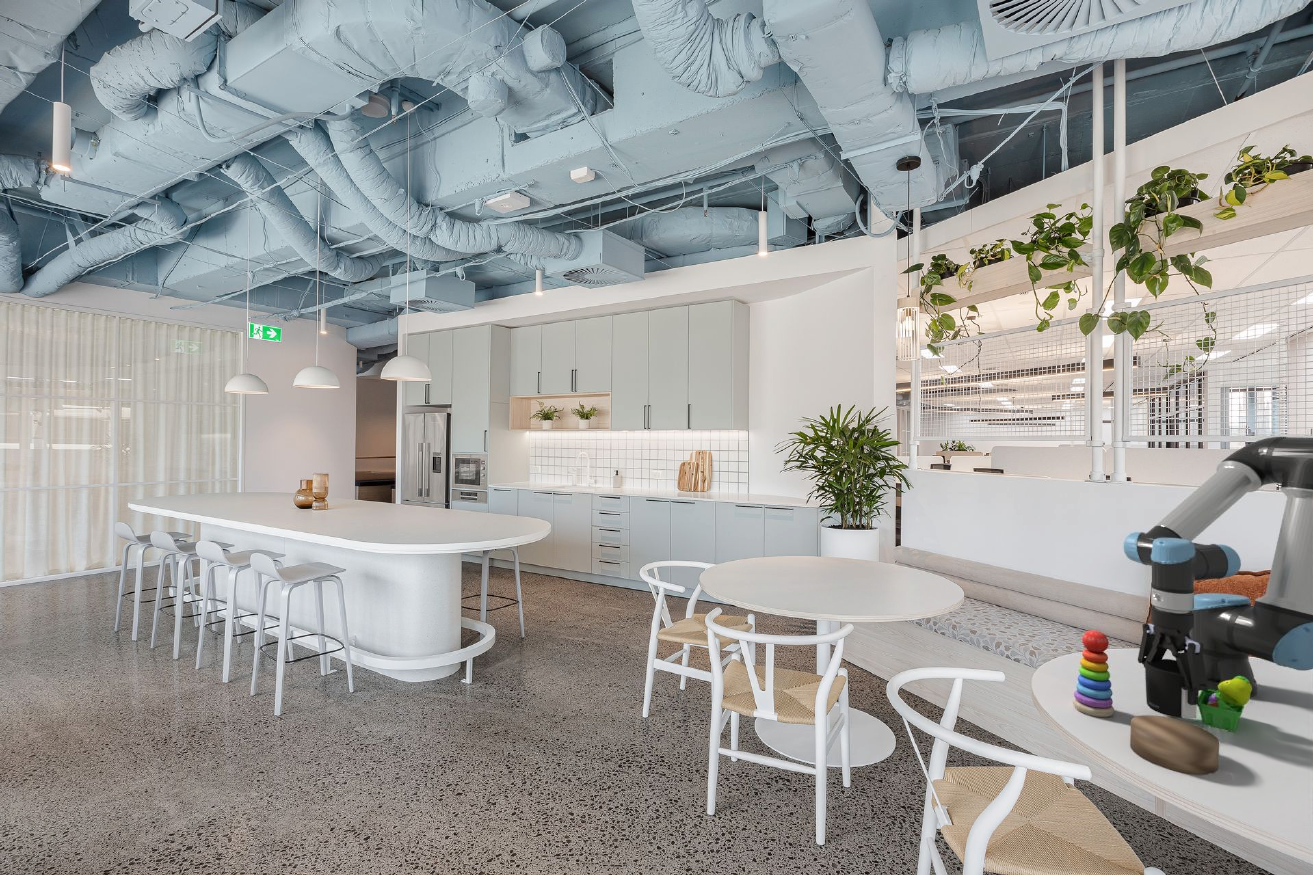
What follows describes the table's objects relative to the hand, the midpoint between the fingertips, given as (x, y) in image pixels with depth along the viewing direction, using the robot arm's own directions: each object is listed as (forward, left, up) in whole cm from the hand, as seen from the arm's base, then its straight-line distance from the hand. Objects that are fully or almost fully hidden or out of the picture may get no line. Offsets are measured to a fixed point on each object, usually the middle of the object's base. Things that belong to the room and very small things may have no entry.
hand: (1170, 707), depth 147 cm
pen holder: (0, 0, -1) cm, 1 cm away
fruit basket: (-12, +1, -4) cm, 12 cm away
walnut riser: (+11, +14, -3) cm, 18 cm away
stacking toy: (+13, -6, -3) cm, 15 cm away
